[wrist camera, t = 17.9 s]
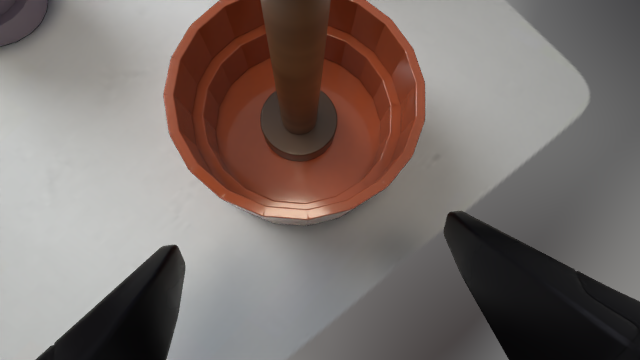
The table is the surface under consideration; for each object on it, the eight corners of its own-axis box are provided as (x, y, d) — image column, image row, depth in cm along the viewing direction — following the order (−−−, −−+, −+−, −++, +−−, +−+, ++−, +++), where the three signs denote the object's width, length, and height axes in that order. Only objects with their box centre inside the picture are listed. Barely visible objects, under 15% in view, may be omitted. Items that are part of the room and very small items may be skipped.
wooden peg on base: (326, 169, 19) (390, -26, 5) (254, 152, 19) (124, -91, 5) (342, 103, 20) (429, -205, 6) (273, 86, 20) (209, -260, 6)
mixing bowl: (429, 122, 21) (473, 80, 15) (309, 268, 18) (312, 280, 13) (291, 15, 22) (287, -60, 16) (161, 137, 19) (106, 97, 14)
